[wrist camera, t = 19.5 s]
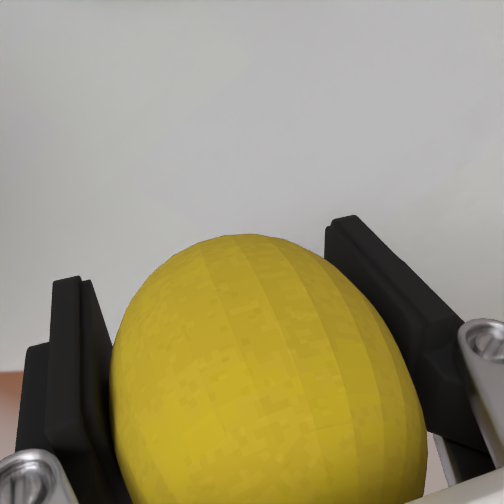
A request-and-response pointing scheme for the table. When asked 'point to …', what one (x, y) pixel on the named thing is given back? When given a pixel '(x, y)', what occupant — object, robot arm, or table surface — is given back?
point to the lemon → (261, 384)
